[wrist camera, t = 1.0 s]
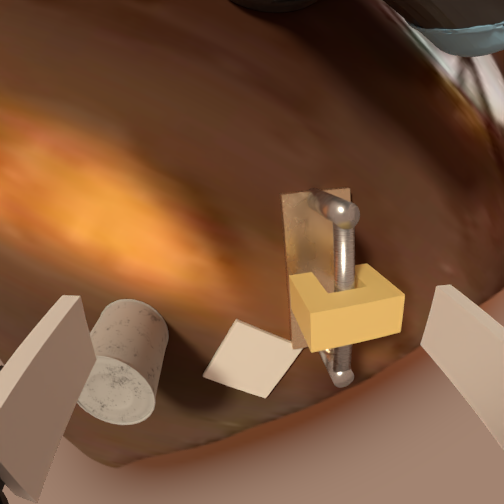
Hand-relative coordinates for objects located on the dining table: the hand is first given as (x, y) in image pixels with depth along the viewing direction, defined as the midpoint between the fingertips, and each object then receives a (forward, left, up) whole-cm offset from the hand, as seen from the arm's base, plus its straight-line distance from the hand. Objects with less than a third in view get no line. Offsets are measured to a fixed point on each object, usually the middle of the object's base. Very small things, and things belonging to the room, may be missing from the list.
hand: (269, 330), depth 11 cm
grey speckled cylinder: (+20, -4, -26) cm, 34 cm away
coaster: (+17, +12, -26) cm, 34 cm away
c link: (+2, +13, -22) cm, 25 cm away
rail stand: (+2, +13, -26) cm, 29 cm away
